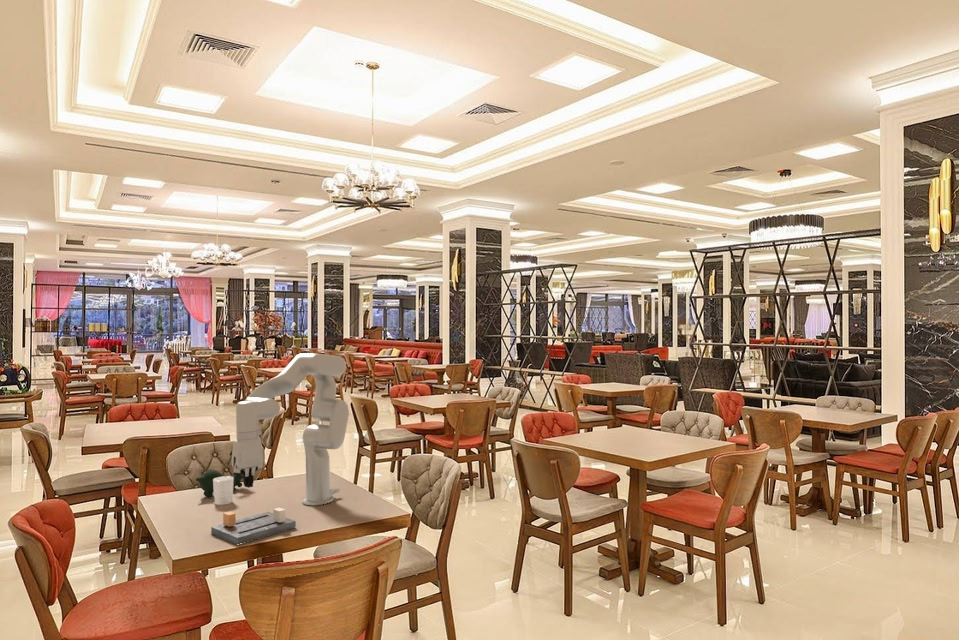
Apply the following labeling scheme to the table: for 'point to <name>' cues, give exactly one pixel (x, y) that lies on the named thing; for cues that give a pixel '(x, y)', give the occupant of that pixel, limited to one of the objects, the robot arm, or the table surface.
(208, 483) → the toy figurine
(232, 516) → the fader
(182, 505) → the table surface
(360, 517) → the table surface
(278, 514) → the fader
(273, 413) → the robot arm
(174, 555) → the table surface
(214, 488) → the white cup
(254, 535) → the console
